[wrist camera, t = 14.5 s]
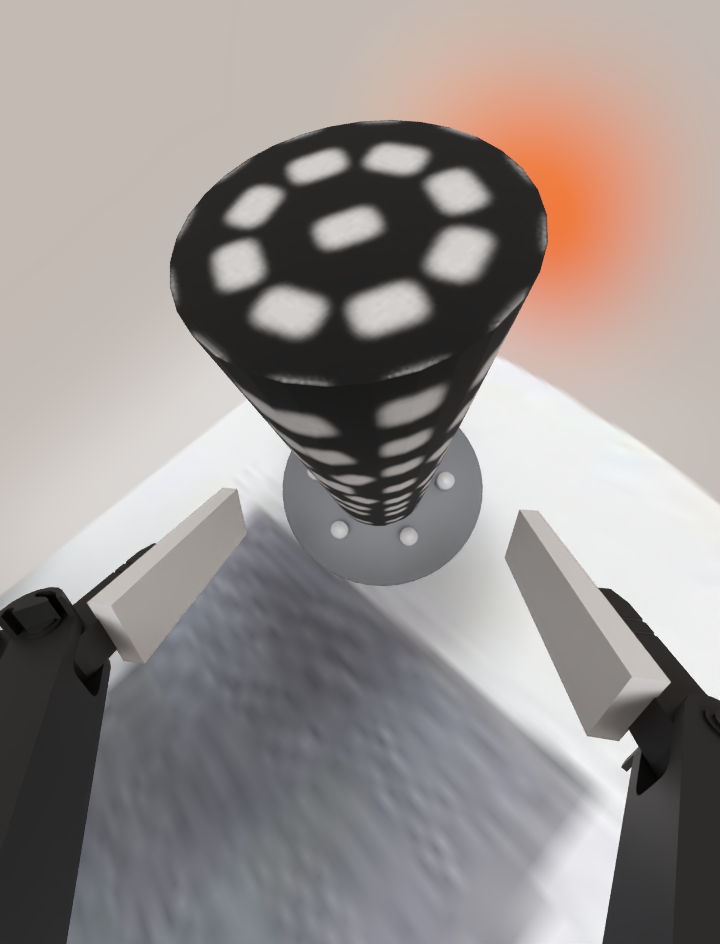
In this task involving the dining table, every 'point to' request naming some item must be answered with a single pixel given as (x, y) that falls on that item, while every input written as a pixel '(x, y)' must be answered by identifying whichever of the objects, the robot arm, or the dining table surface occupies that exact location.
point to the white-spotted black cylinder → (362, 295)
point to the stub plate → (393, 546)
